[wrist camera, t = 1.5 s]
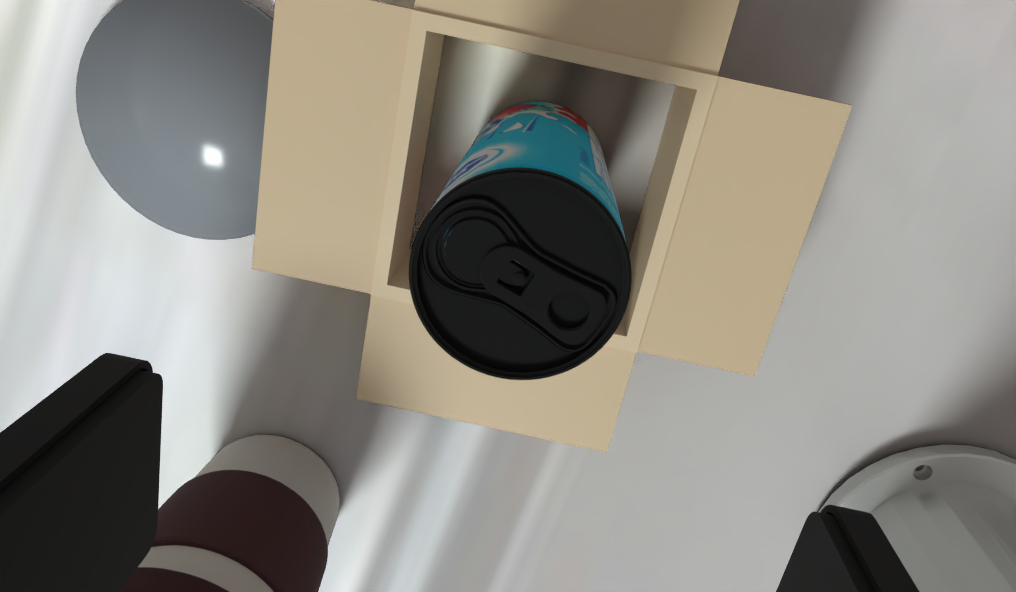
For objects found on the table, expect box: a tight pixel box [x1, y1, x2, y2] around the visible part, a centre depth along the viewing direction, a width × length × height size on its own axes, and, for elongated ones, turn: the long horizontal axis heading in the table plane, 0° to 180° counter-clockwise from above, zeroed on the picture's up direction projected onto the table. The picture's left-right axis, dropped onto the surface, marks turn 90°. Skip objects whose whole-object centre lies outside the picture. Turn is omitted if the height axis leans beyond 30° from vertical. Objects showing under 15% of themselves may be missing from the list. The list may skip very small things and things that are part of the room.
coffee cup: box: [120, 435, 340, 592], centre depth 34 cm, size 10×10×15 cm
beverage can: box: [409, 101, 632, 380], centre depth 27 cm, size 6×6×15 cm
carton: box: [252, 0, 852, 452], centre depth 32 cm, size 21×21×5 cm
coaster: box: [76, 0, 274, 240], centre depth 34 cm, size 11×11×1 cm
